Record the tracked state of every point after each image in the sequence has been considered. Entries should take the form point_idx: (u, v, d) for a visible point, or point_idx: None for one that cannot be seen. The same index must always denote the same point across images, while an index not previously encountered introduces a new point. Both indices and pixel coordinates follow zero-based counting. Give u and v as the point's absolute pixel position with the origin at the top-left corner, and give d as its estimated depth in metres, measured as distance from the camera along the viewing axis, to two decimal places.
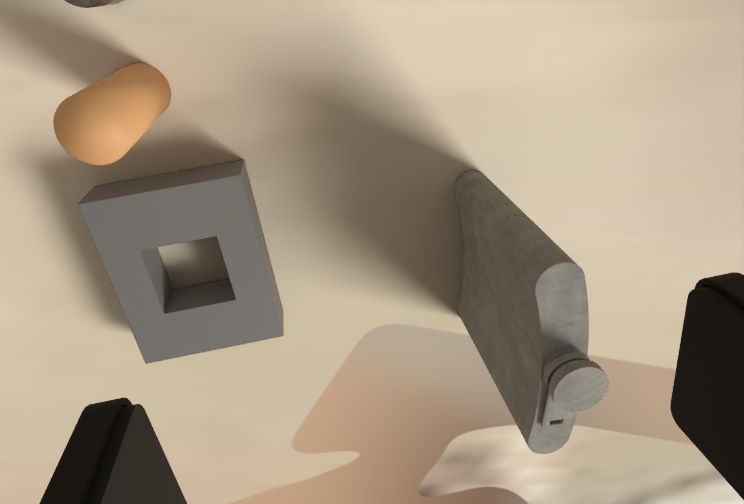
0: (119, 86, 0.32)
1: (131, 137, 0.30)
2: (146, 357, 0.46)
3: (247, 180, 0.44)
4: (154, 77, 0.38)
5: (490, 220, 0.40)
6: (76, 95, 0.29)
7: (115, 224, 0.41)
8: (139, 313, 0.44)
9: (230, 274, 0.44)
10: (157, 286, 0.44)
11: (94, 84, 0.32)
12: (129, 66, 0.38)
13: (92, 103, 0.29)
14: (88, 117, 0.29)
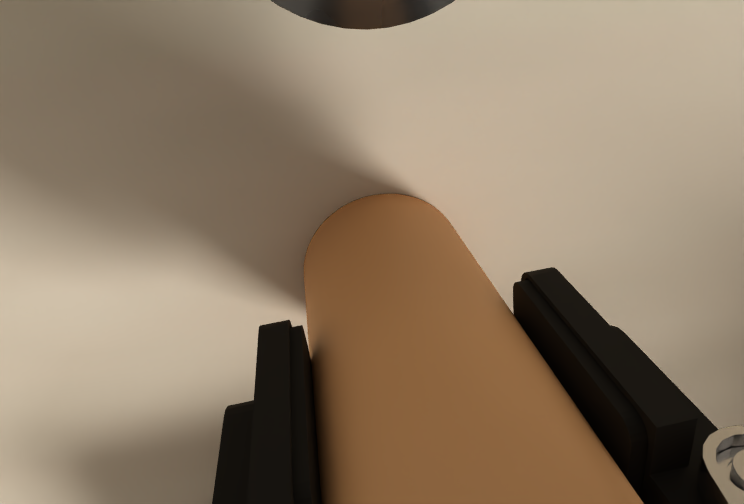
0: None
1: None
2: None
3: None
4: (474, 260, 0.11)
5: None
6: None
7: None
8: None
9: None
10: None
11: None
12: (390, 223, 0.11)
13: None
14: None
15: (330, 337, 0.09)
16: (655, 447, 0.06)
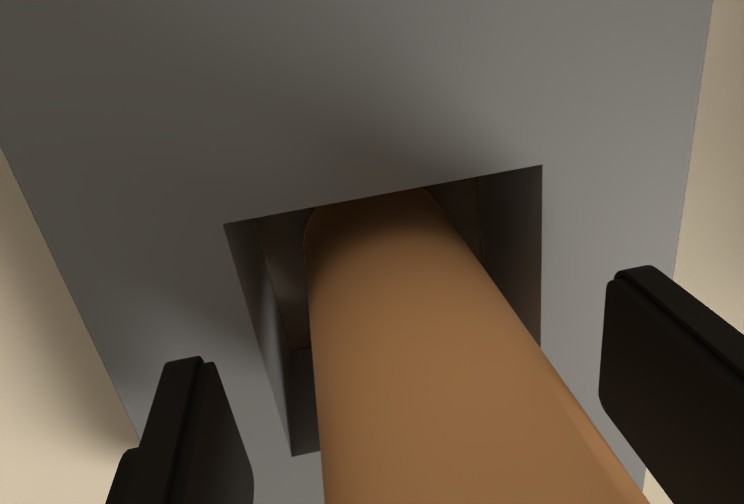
0: (562, 414, 0.06)
1: None
2: None
3: None
4: (456, 230, 0.12)
5: None
6: None
7: (117, 97, 0.08)
8: None
9: (547, 318, 0.12)
10: (271, 358, 0.12)
11: (467, 432, 0.06)
12: (381, 198, 0.12)
13: None
14: None
15: (327, 292, 0.10)
16: None
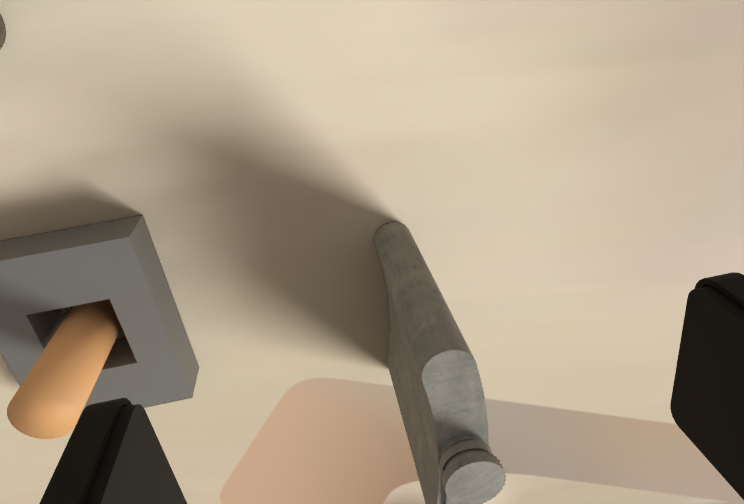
0: (69, 357, 0.36)
1: (77, 417, 0.34)
2: None
3: (146, 237, 0.41)
4: (108, 311, 0.42)
5: (395, 286, 0.37)
6: (26, 392, 0.33)
7: None
8: None
9: (128, 337, 0.41)
10: None
11: (46, 360, 0.35)
12: None
13: (41, 396, 0.33)
14: (37, 406, 0.33)
15: None
16: None
